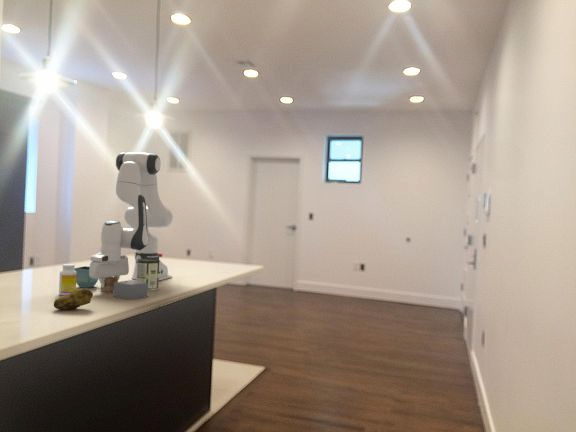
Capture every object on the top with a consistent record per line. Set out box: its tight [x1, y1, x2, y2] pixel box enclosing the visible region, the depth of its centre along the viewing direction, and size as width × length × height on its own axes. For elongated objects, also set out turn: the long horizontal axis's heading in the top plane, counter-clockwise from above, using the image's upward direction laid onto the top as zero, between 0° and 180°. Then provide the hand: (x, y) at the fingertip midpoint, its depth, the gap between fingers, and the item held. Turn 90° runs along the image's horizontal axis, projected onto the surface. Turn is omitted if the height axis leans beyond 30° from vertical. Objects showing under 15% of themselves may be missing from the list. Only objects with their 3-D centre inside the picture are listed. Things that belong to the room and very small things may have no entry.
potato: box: [53, 287, 94, 311], centre depth 184 cm, size 8×13×8 cm, turn 99°
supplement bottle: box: [58, 263, 77, 296], centre depth 211 cm, size 7×7×13 cm
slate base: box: [112, 279, 149, 301], centre depth 214 cm, size 10×10×6 cm
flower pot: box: [74, 266, 99, 289], centre depth 232 cm, size 9×9×9 cm
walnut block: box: [100, 276, 119, 293], centre depth 225 cm, size 5×5×6 cm
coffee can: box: [136, 259, 161, 292], centre depth 235 cm, size 10×10×14 cm
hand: (109, 286), depth 225 cm, fingers closed on walnut block, 5 cm apart
